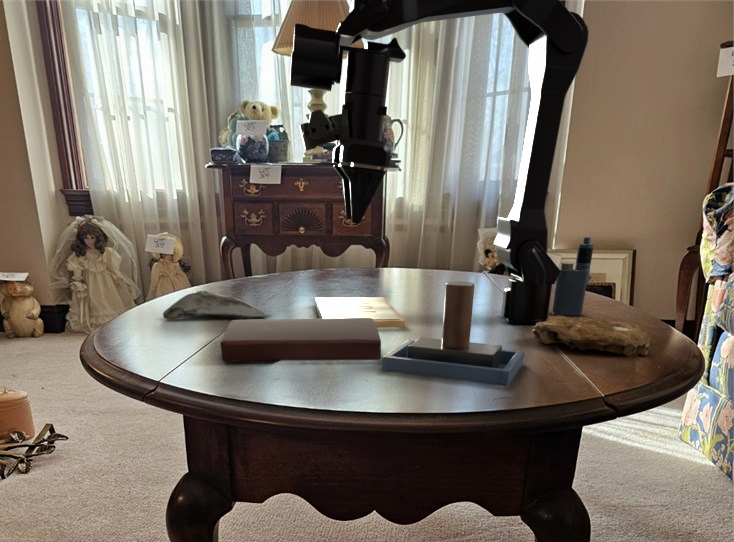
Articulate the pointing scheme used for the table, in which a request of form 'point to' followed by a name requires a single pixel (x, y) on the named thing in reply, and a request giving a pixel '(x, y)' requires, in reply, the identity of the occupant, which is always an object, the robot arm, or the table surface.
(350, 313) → the board
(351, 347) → the book
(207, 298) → the fossil
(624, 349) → the decorative rock
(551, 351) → the table surface
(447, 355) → the eraser
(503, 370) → the tray
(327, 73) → the robot arm
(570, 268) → the vaping device
